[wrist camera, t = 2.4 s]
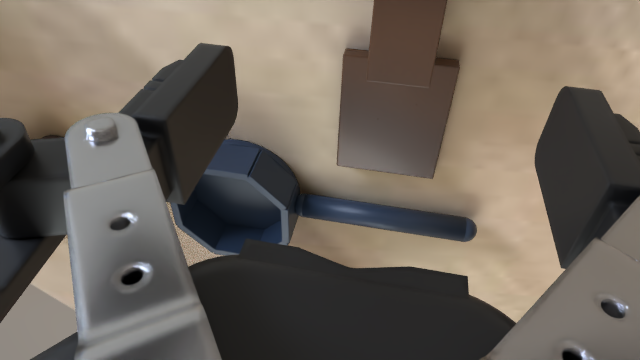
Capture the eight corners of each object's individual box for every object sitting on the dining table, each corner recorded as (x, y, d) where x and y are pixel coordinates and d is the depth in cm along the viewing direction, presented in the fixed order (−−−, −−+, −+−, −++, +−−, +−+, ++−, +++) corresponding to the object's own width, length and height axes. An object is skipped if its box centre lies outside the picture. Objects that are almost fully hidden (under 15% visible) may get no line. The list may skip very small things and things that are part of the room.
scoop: (198, 218, 34) (181, 249, 32) (179, 131, 29) (158, 160, 26) (461, 260, 31) (463, 297, 29) (491, 173, 26) (496, 210, 24)
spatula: (369, -340, 15) (356, -365, 12) (555, -341, 14) (580, -368, 11) (338, 157, 28) (329, 192, 25) (433, 170, 27) (432, 208, 25)
